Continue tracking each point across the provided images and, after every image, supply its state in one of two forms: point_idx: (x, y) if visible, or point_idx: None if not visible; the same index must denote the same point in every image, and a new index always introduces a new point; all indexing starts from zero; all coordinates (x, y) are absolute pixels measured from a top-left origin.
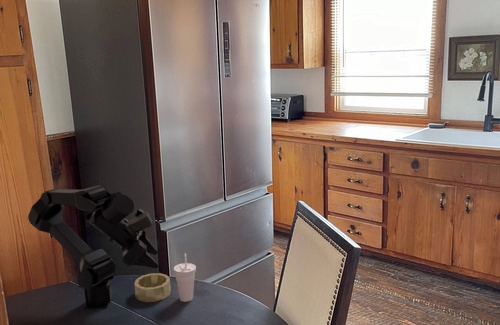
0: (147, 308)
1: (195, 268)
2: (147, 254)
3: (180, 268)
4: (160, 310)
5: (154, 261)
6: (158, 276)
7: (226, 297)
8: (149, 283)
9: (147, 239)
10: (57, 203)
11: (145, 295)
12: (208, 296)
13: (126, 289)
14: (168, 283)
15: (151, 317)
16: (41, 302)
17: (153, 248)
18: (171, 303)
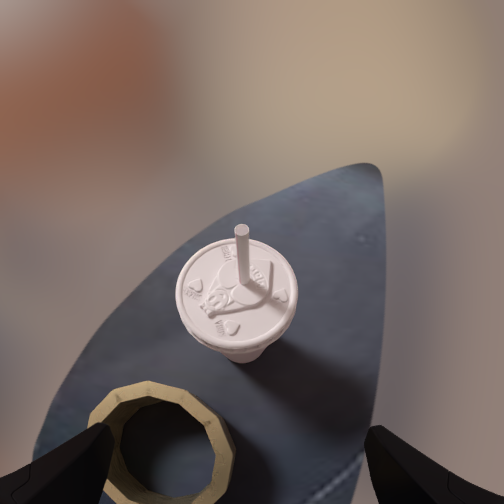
0: (280, 475)
1: (253, 242)
2: (488, 498)
3: (237, 311)
4: (306, 432)
5: (418, 451)
6: (106, 420)
7: (267, 227)
8: (114, 454)
9: (15, 494)
10: None
11: (228, 485)
12: None
13: None
14: (189, 392)
15: (346, 456)
16: None
17: (86, 454)
18: (264, 394)
